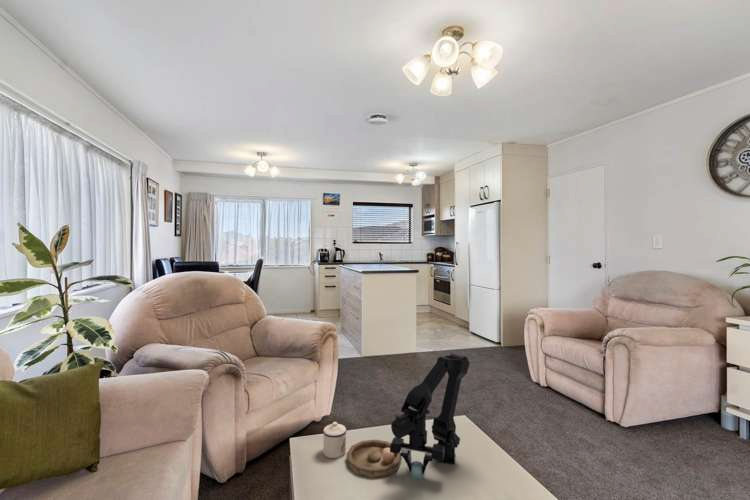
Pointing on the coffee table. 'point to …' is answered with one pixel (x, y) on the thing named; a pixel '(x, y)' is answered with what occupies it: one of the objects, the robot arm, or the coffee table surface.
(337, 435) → the teacup with lid
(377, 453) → the ring tray
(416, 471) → the bead teal
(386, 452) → the bead terracotta
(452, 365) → the robot arm
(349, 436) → the coffee table surface
